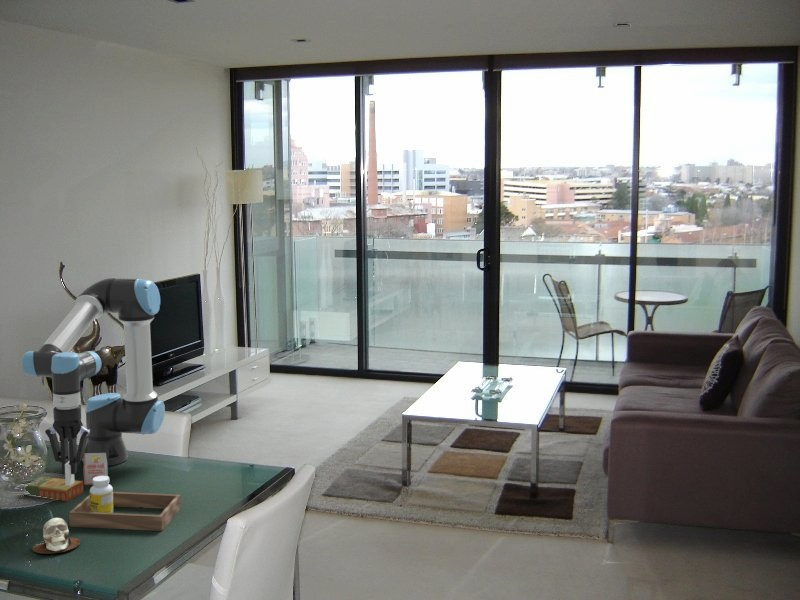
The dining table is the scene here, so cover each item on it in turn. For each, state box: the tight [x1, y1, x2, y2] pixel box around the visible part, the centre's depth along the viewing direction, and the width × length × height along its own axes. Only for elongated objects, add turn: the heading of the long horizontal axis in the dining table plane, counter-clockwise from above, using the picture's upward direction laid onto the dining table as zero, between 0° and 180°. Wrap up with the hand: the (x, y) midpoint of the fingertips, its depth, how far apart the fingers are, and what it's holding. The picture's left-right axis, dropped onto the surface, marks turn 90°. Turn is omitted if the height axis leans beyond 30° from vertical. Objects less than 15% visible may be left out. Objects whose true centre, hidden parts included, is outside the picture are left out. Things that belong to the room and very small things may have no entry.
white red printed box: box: [82, 453, 109, 486], centre depth 283 cm, size 4×7×10 cm, turn 98°
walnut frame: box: [68, 491, 182, 532], centre depth 256 cm, size 17×27×4 cm, turn 86°
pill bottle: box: [89, 476, 114, 513], centre depth 256 cm, size 6×6×12 cm
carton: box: [25, 475, 84, 502], centre depth 273 cm, size 8×16×4 cm, turn 74°
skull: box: [32, 517, 81, 555], centre depth 235 cm, size 12×10×10 cm
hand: (70, 484), depth 256 cm, fingers closed
